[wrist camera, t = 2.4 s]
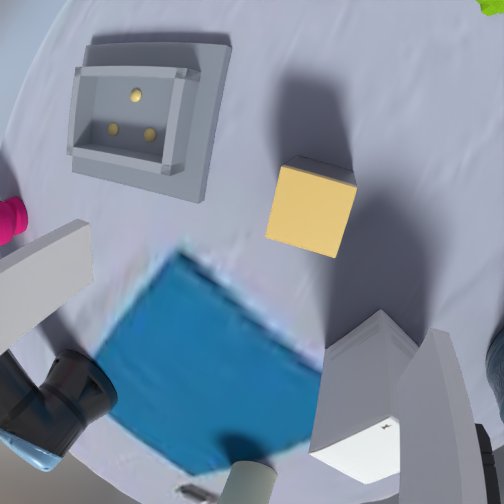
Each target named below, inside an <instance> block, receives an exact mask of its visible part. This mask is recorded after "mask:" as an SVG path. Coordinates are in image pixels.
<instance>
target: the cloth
mask: <svg viewBox="0 0 504 504" xmlns="http://www.w3.org/2000/svg"><path fill="white" fill-rule="evenodd" d="M476 1H477V2H478V3H479V4H480V6H481V11H482V13H483V14H485V15H487V16H490V15H494V14H496V13H503V12H504V0H476Z"/></svg>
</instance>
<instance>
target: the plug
mask: <svg viewBox="0 0 504 504" xmlns="http://www.w3.org/2000/svg"><path fill="white" fill-rule="evenodd" d="M356 191H357V185H356V181H355V176H354V172H353V171H350V170H347V169H343V168H340V167H336V166H333V165H330V164H326V163H323V162H319V161H315V160H312V159H308V158H304V157H301V156H297V155H296V156H295V157H294V158H292V159H291V160H289V161H288V162H287V163H285V164H284V165H283V166H281V170H280V174H279V178H278V183H277V187H276V192H275V196H274V200H273V205H272V209H271V213H270V218H269V222H268V226H267V231H266V235H265V237H266V238H269V239H273V240H276V241H279V242H283V243H286V244H289V245H293V246H296V247H300V248H303V249H306V250H310V251H313V252H316V253H320V254H323V255H326V256H329V257H333V258H336V255H337V252H338V249H339V246H340V243H341V240H342V237H343V233H344V230H345V227H346V224H347V221H348V218H349V214H350V211H351V208H352V205H353V201H354V198H355V195H356Z"/></svg>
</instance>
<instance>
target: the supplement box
mask: <svg viewBox="0 0 504 504" xmlns="http://www.w3.org/2000/svg"><path fill="white" fill-rule="evenodd" d="M418 349H419V347H418V346H417V345H416V344H415V342H414V341H413V340H412V339H411V338H410V337H409V336H408V335H407V334H406V333H405V332H404V331H403V330H402V329H401V328H400V327H399V326H398V325H397V324H396V323H395V322H394V321H393V320H392V319H391V318H390V317H389V316H388V315H387V314H386V313H385V312H384V311H383V310H382V309H380V310H378V311H377V312H376V313H375V314H373V315H372V316H371V317H369V318H368V319H367V320H365V321H364V322H363V323H362V324H360V325H359V326H358V327H356V328H355V329H353V330H352V331H351V332H349V333H348V334H347V335H345V336H344V337H343V338H341V339H340V340H338V341H337V342H336V343H334V344H333V345H331V346H330V347H329V348H327V349H326V350H325V355H324V362H323V370H322V377H321V384H320V390H319V397H318V403H317V410H316V415H315V421H314V426H313V432H312V437H311V443H310V448H309V452H308V453H309V454H310V455H312V456H314V457H316V458H317V459H319V460H321V461H323V462H324V463H326V464H328V465H330V466H332V467H334V468H336V469H337V470H339V471H341V472H343V473H345V474H347V475H349V476H350V477H352V478H354V479H356V480H358V481H360V482H362V483H364V484H368V483H372V482H375V481H377V480H380V479H383V478H385V477H388V476H390V475H392V474H395V473H397V472H400V428H399V406H398V391H397V382H398V381H399V379H400V378H401V376H402V375H403V373H404V371H405V370H406V368H407V367H408V365H409V364H410V362H411V360H412V359H413V357H414V356H415V354H416V352H417V351H418Z"/></svg>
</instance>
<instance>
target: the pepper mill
mask: <svg viewBox="0 0 504 504" xmlns="http://www.w3.org/2000/svg"><path fill="white" fill-rule="evenodd" d="M27 224H28V217H27V212H26V209H25V206H24V204H23V202H22V201H21V200H20V199H19V198H18V197H12V198H9V199H7V200H5V201H4V202H2V201H0V246H1V245H4V244H6V243H8V242H10V241H11V239H12V237H13V235H18V234H20V233H22V232H24V231H25V230H26V228H27Z"/></svg>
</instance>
